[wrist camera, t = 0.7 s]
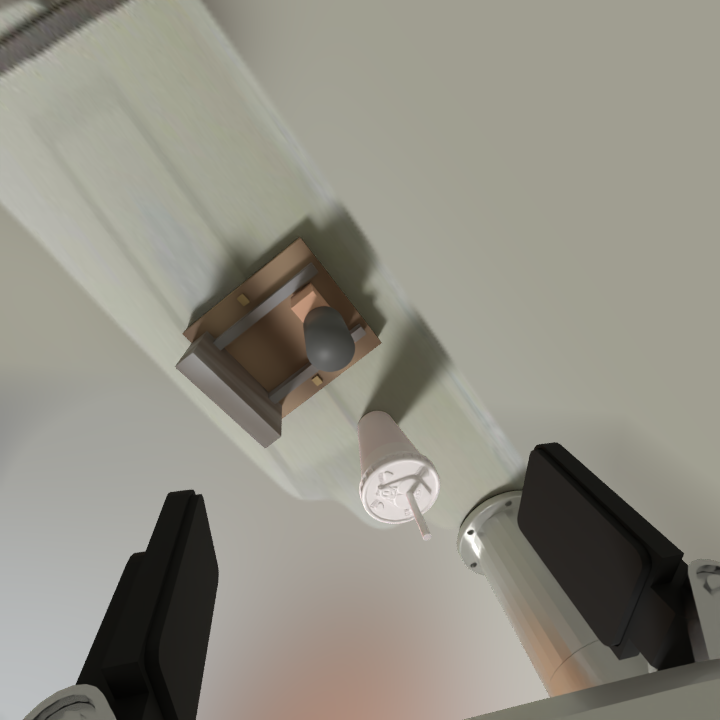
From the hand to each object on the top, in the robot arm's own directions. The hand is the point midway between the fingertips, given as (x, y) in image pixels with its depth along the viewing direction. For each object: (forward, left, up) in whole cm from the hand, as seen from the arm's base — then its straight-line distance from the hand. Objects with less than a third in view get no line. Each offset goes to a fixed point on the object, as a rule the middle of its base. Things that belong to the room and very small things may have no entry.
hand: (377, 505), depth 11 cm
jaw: (0, 0, -22) cm, 22 cm away
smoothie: (-9, +10, -24) cm, 28 cm away
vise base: (+2, +3, -24) cm, 24 cm away
